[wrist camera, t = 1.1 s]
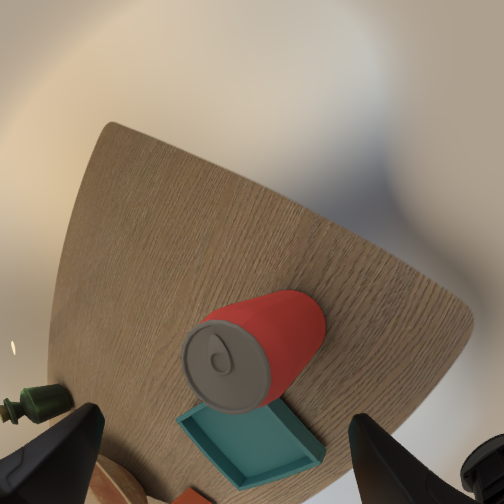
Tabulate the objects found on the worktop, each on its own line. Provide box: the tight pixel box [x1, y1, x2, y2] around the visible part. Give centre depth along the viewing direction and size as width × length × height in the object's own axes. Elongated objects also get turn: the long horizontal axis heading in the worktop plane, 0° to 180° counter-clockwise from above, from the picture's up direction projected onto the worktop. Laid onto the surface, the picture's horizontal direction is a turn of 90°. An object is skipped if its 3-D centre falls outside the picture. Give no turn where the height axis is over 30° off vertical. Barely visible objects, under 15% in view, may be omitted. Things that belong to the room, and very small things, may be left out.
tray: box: [175, 397, 327, 491], centre depth 25 cm, size 12×12×2 cm
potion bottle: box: [0, 384, 71, 424], centre depth 37 cm, size 8×8×18 cm
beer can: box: [181, 290, 326, 415], centre depth 19 cm, size 7×7×12 cm
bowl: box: [88, 454, 148, 504], centre depth 34 cm, size 24×24×8 cm
